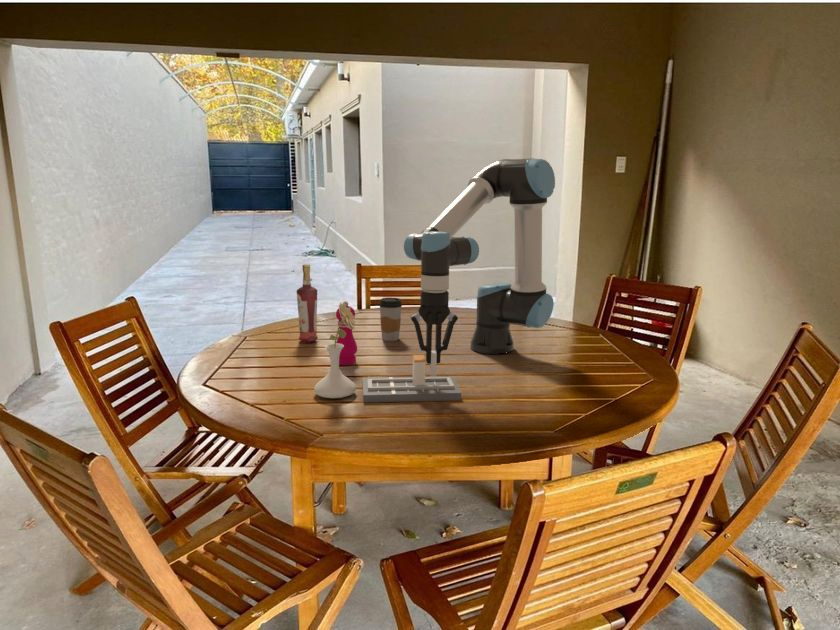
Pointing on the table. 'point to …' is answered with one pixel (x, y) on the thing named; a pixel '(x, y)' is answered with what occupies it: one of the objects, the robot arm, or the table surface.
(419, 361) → the fader
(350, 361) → the pepper mill
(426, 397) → the panel
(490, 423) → the table surface
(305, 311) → the liquor
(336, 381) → the flower in vase
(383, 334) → the coffee cup
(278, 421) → the table surface
